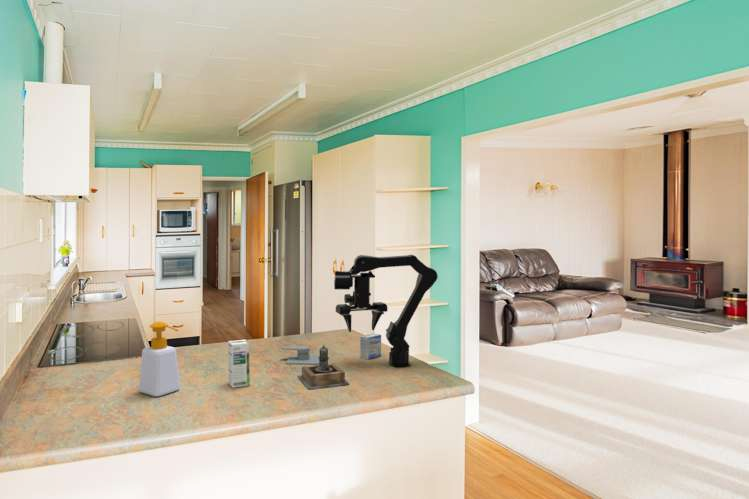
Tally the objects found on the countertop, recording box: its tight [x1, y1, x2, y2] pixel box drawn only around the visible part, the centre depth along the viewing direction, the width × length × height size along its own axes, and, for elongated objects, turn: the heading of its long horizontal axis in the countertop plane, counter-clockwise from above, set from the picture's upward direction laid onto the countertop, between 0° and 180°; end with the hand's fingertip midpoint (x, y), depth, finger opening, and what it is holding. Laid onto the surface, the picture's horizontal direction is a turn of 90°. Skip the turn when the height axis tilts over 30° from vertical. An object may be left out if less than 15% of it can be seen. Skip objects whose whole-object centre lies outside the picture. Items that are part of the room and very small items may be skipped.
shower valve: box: [281, 345, 320, 366], centre depth 211 cm, size 12×6×15 cm
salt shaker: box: [315, 344, 332, 374], centre depth 185 cm, size 6×6×12 cm
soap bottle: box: [138, 321, 181, 397], centre depth 171 cm, size 10×14×22 cm
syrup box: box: [227, 339, 251, 389], centre depth 180 cm, size 6×6×14 cm
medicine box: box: [359, 332, 382, 360], centre depth 217 cm, size 8×4×9 cm, turn 139°
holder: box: [297, 362, 350, 390], centre depth 186 cm, size 14×14×4 cm
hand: (361, 331), depth 204 cm, fingers open, 9 cm apart
